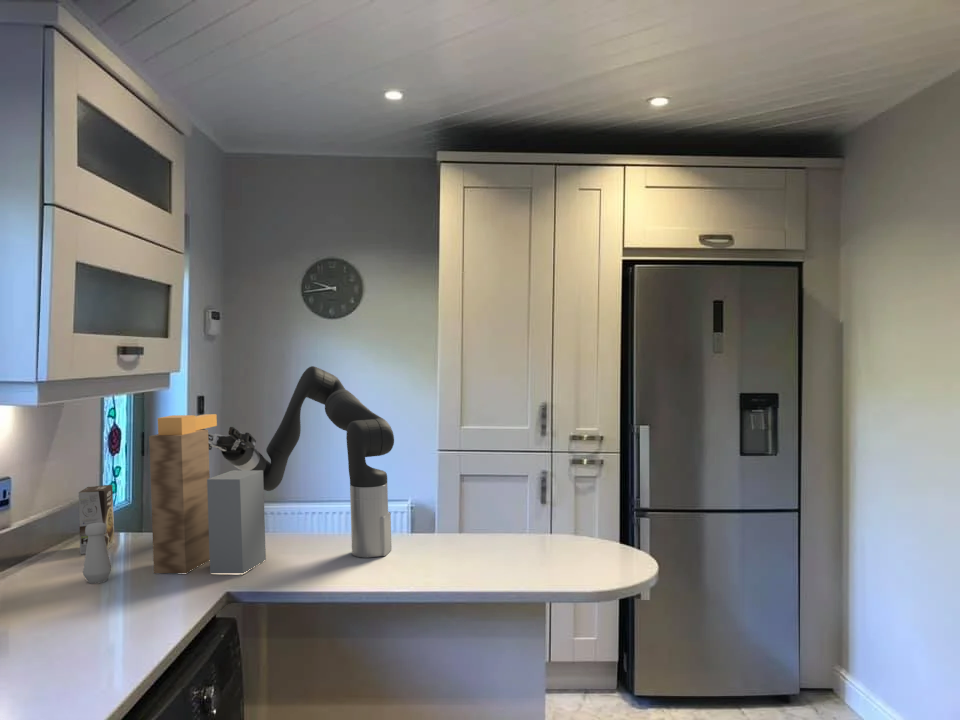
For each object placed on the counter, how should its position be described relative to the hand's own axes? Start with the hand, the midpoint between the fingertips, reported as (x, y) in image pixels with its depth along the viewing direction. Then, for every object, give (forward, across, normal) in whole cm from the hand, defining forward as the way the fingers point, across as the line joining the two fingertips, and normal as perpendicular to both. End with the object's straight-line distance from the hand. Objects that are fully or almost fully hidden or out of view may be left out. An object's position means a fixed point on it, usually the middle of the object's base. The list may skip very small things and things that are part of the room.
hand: (215, 430), depth 194 cm
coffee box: (-12, -32, +28) cm, 45 cm away
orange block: (+10, 0, +5) cm, 11 cm away
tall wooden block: (-1, 0, +35) cm, 35 cm away
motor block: (-1, +14, +35) cm, 38 cm away
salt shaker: (+9, -14, +41) cm, 44 cm away
